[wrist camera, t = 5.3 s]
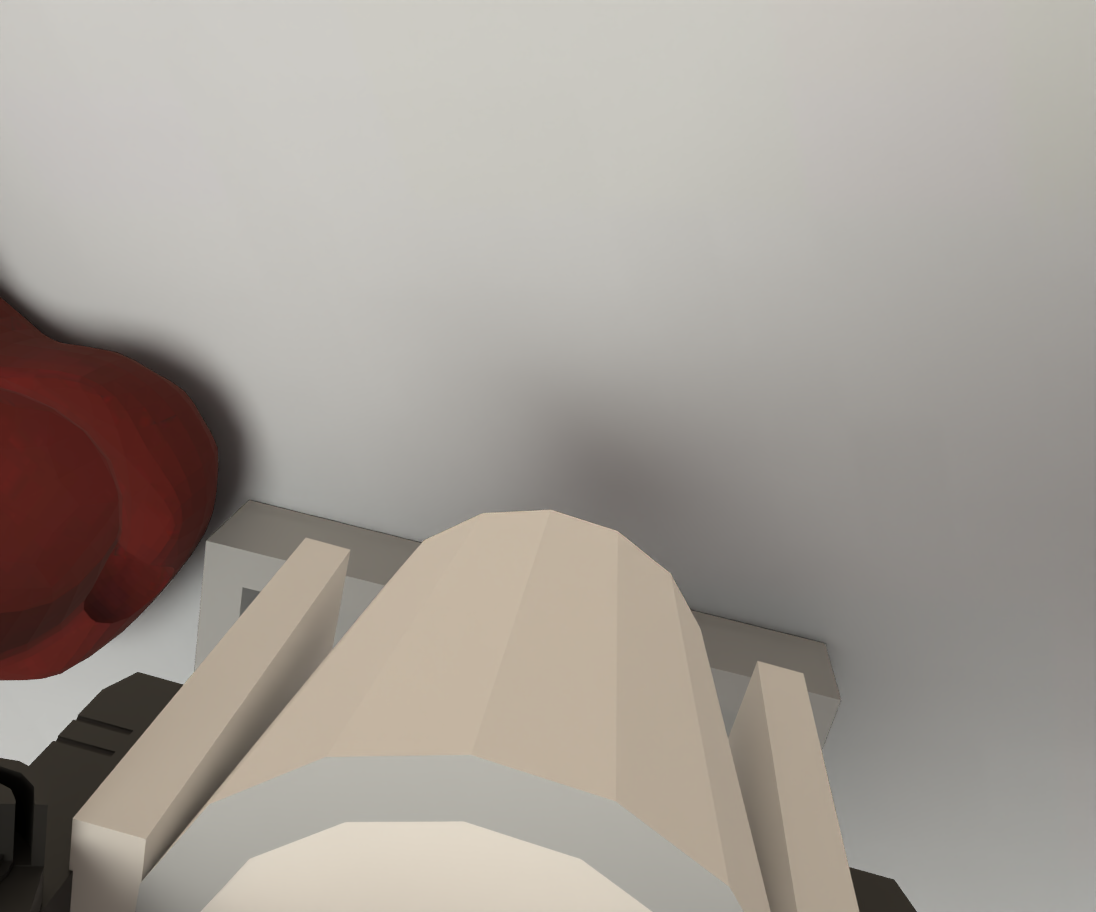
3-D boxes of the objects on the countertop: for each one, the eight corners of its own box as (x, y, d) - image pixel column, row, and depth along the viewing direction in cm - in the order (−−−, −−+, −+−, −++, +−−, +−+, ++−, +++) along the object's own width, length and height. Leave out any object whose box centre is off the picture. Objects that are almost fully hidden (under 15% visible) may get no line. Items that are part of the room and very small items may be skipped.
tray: (825, 643, 30) (841, 700, 27) (700, 979, 35) (703, 1056, 32) (249, 500, 30) (206, 540, 27) (211, 850, 35) (172, 914, 33)
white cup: (415, 855, 18) (270, 1291, 11) (274, 526, 16) (-2, 828, 9) (786, 793, 16) (865, 1250, 10) (684, 423, 14) (700, 692, 8)
